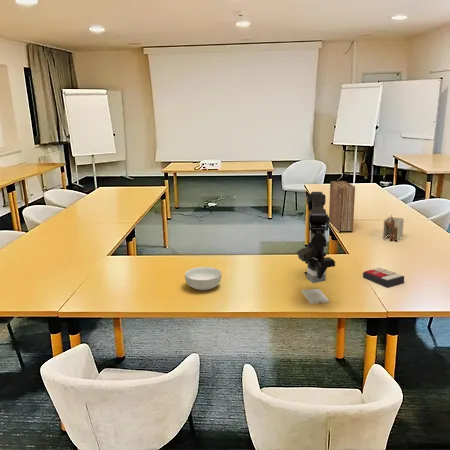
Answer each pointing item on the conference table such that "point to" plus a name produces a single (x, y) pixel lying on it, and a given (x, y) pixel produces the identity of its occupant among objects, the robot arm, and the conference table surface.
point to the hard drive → (315, 296)
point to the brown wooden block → (341, 205)
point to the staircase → (393, 227)
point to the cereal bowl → (203, 278)
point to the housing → (314, 275)
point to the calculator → (384, 277)
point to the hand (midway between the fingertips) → (316, 276)
